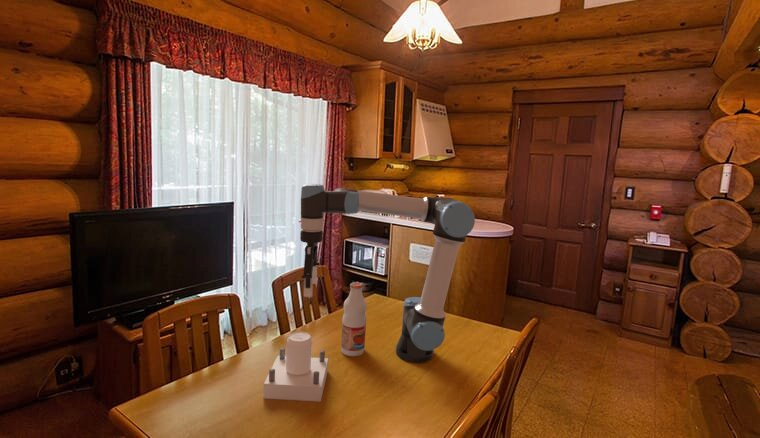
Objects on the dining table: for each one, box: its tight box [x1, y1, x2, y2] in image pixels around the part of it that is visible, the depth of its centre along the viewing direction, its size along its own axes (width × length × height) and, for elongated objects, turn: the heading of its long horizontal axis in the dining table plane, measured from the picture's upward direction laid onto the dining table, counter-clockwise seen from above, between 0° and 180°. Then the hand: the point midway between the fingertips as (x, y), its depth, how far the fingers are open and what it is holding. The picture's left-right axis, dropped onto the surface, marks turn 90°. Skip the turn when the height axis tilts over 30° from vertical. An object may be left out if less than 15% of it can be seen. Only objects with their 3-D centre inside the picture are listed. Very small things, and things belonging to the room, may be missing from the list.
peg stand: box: [263, 347, 329, 402], centre depth 134 cm, size 18×18×8 cm
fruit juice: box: [340, 281, 368, 357], centre depth 157 cm, size 9×9×28 cm
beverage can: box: [285, 331, 313, 375], centre depth 133 cm, size 8×8×12 cm
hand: (310, 289), depth 138 cm, fingers open, 13 cm apart
